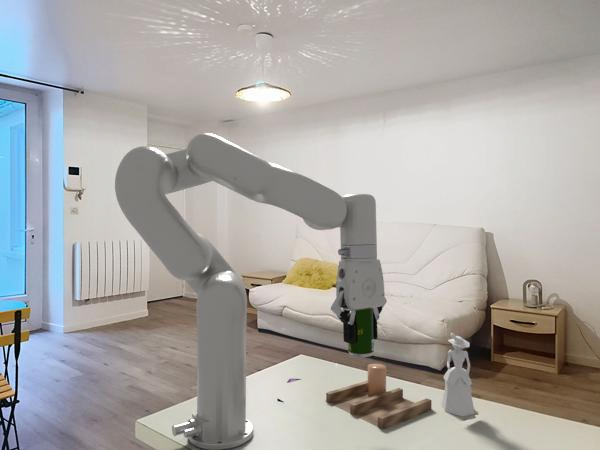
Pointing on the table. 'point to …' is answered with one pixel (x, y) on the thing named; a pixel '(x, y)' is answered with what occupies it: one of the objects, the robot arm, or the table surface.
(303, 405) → the table surface
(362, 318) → the beer can
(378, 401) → the rack
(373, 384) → the peach rounded cylinder
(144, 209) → the robot arm
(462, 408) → the figurine
